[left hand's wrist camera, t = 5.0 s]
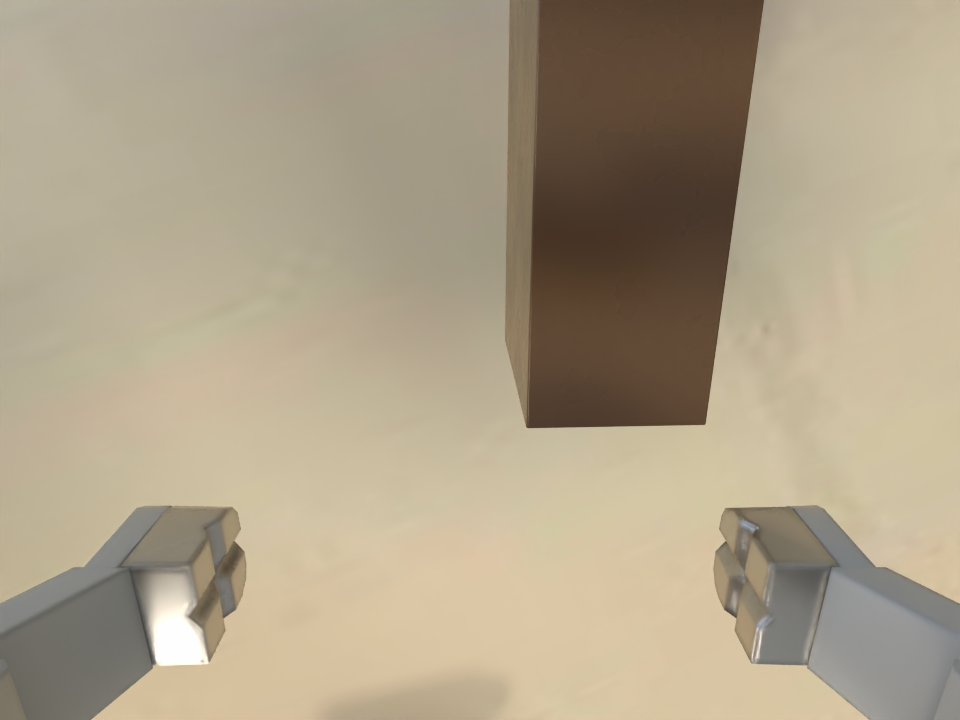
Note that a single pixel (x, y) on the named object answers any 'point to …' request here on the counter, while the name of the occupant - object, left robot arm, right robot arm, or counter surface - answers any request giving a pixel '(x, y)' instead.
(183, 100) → the counter surface
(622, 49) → the bar
